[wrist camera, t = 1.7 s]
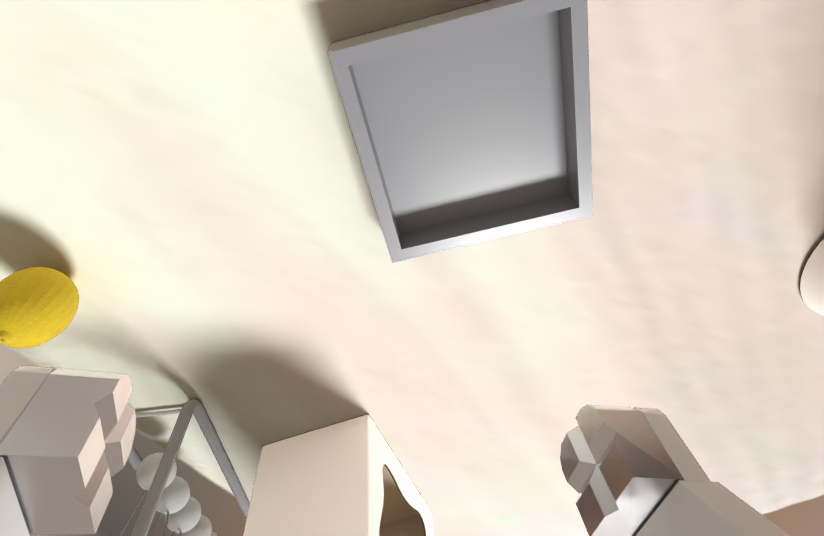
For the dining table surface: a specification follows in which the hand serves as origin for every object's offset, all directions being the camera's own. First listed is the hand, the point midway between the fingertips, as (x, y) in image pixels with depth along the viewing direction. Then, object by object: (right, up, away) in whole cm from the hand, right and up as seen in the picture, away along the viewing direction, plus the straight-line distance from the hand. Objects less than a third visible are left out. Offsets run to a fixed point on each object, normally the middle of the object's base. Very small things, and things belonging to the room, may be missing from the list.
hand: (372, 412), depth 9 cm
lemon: (-29, +2, +33) cm, 44 cm away
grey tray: (+5, +13, +28) cm, 31 cm away
